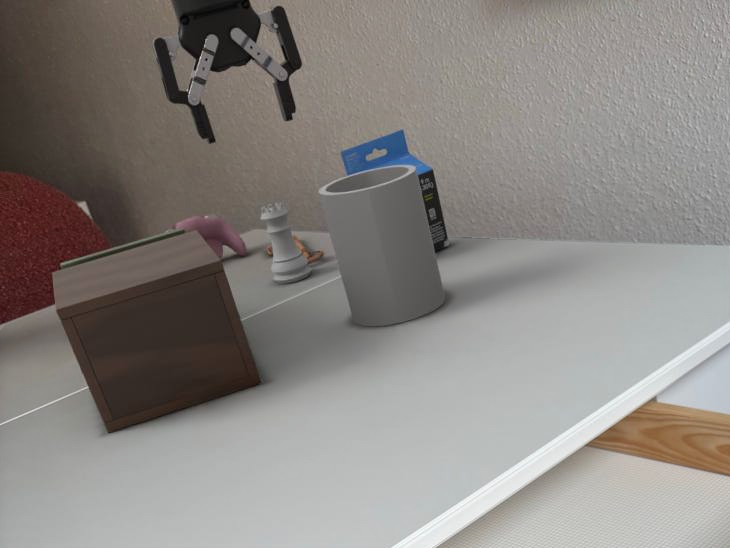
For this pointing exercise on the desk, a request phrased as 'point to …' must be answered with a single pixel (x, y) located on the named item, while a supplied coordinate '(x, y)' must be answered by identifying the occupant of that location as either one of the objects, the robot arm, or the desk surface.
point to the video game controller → (214, 233)
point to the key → (303, 252)
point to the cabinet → (154, 329)
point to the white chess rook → (284, 246)
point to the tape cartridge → (401, 156)
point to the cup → (383, 245)
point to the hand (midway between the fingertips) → (250, 131)
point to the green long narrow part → (122, 248)
